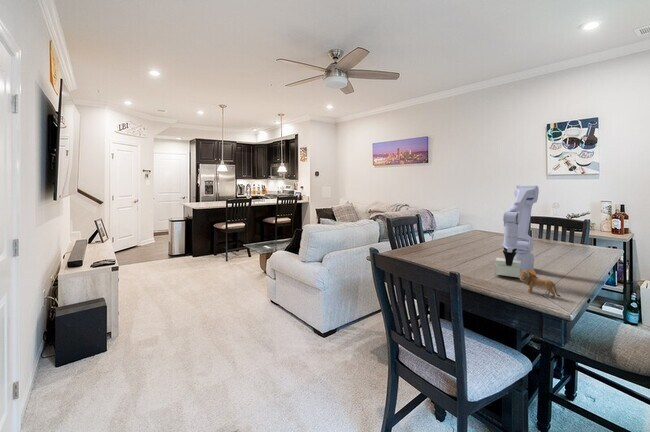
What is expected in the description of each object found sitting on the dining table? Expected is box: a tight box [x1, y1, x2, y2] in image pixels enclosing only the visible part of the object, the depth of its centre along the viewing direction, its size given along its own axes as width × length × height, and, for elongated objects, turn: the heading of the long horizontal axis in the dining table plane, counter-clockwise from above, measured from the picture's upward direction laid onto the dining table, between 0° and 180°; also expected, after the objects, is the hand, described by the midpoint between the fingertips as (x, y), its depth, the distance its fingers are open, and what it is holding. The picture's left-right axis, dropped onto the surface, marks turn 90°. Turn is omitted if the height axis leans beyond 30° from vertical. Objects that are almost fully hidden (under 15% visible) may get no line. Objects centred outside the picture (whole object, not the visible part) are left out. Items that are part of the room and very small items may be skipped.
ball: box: [525, 269, 537, 277], centre depth 147 cm, size 5×5×5 cm
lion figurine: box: [518, 270, 561, 299], centre depth 129 cm, size 15×5×9 cm, turn 51°
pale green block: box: [494, 257, 522, 278], centre depth 152 cm, size 10×8×7 cm
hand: (508, 263), depth 152 cm, fingers closed on pale green block, 6 cm apart
